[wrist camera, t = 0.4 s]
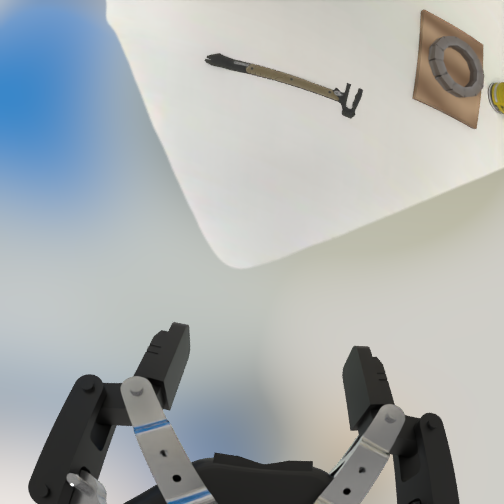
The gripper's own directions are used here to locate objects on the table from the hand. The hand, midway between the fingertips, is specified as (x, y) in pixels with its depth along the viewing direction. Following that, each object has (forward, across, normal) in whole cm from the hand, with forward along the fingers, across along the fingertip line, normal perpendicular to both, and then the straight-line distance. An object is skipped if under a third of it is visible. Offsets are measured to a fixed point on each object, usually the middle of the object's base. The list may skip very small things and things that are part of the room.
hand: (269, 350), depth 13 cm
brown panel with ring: (+29, -24, -26) cm, 45 cm away
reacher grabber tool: (+29, +1, -18) cm, 34 cm away
